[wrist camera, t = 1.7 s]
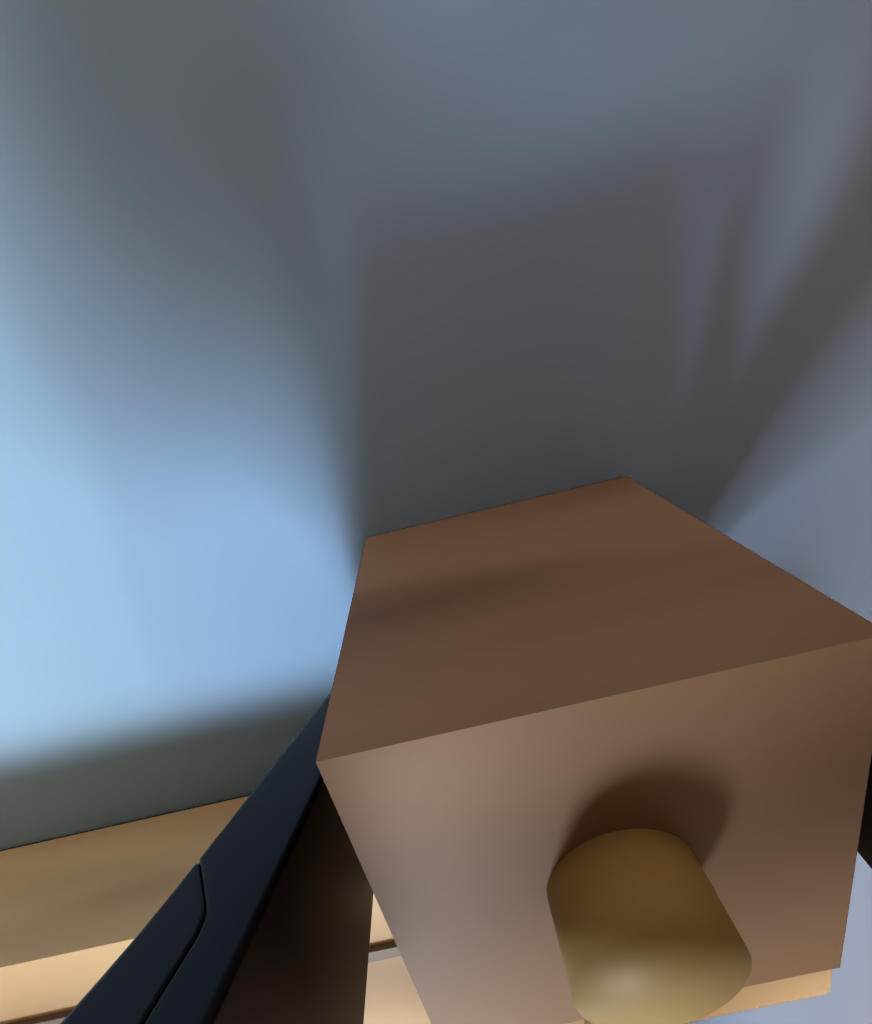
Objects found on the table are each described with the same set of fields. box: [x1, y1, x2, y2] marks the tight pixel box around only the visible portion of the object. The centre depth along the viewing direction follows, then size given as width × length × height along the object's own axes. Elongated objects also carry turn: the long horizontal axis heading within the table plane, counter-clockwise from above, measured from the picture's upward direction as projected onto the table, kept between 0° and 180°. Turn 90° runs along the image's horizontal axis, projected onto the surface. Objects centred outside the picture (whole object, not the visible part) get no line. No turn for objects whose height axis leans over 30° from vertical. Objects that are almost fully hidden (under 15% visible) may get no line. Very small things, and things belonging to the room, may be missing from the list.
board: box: [0, 796, 832, 1024], centre depth 11 cm, size 7×24×3 cm, turn 103°
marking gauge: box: [316, 476, 872, 1024], centre depth 7 cm, size 10×5×6 cm, turn 13°
